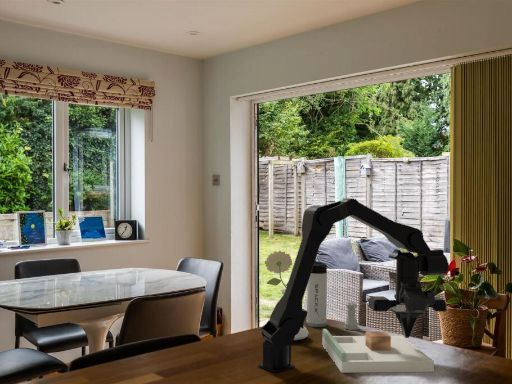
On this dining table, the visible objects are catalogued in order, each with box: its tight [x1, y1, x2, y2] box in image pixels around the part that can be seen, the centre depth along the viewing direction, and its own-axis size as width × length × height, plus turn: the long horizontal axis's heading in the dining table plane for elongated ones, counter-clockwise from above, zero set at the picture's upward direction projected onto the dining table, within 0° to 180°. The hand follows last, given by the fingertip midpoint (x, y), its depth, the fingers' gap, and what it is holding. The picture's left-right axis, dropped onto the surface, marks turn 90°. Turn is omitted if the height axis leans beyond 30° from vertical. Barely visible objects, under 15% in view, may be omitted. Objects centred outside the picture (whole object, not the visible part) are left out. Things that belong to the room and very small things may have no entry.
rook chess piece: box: [343, 301, 359, 331], centre depth 170 cm, size 4×4×8 cm
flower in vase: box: [264, 250, 309, 341], centre depth 158 cm, size 13×11×25 cm
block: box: [365, 330, 392, 350], centre depth 140 cm, size 5×5×4 cm
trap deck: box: [321, 328, 435, 374], centre depth 140 cm, size 22×23×4 cm
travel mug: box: [305, 261, 328, 328], centre depth 174 cm, size 6×7×20 cm
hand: (406, 337), depth 140 cm, fingers closed
